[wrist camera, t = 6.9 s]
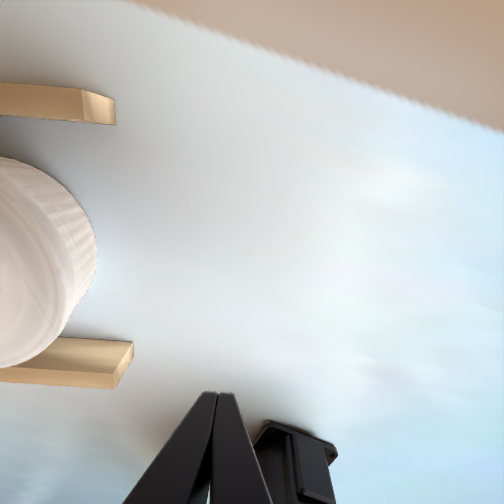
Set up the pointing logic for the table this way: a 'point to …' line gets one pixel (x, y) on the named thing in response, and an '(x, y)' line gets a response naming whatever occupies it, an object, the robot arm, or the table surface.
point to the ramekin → (39, 260)
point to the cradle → (65, 349)
